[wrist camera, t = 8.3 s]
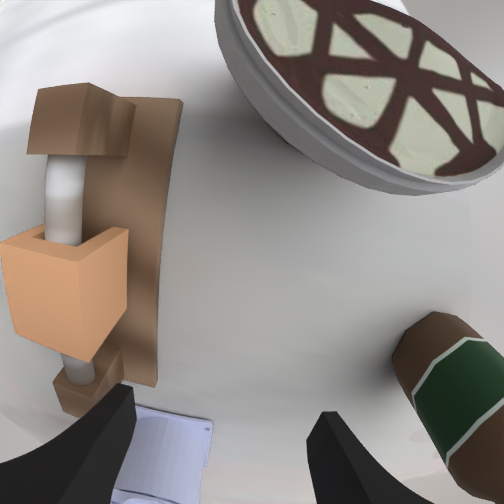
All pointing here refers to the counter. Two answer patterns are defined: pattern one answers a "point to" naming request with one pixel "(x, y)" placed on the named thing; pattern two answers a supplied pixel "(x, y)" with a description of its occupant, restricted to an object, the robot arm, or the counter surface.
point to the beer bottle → (457, 399)
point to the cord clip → (66, 289)
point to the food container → (365, 92)
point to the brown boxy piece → (108, 215)
